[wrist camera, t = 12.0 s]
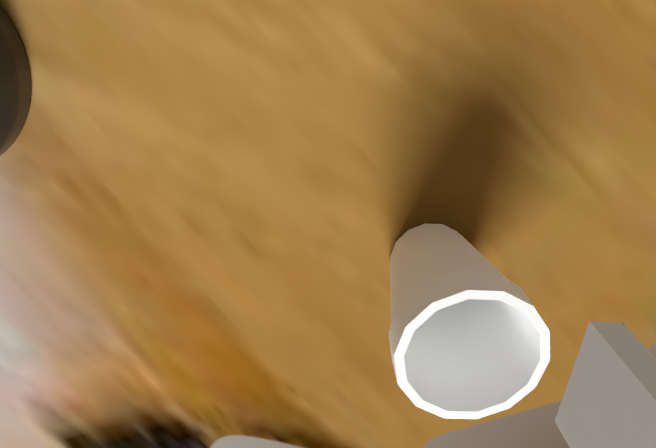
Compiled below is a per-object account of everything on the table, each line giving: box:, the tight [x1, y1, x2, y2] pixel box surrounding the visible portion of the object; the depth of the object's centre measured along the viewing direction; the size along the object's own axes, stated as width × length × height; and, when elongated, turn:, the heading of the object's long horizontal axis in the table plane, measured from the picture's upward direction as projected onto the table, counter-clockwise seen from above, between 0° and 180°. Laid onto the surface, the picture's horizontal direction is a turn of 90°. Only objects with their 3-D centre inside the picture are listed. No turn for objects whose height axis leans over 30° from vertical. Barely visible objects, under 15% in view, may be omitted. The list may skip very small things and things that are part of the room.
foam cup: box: [388, 223, 550, 419], centre depth 40 cm, size 10×9×13 cm
